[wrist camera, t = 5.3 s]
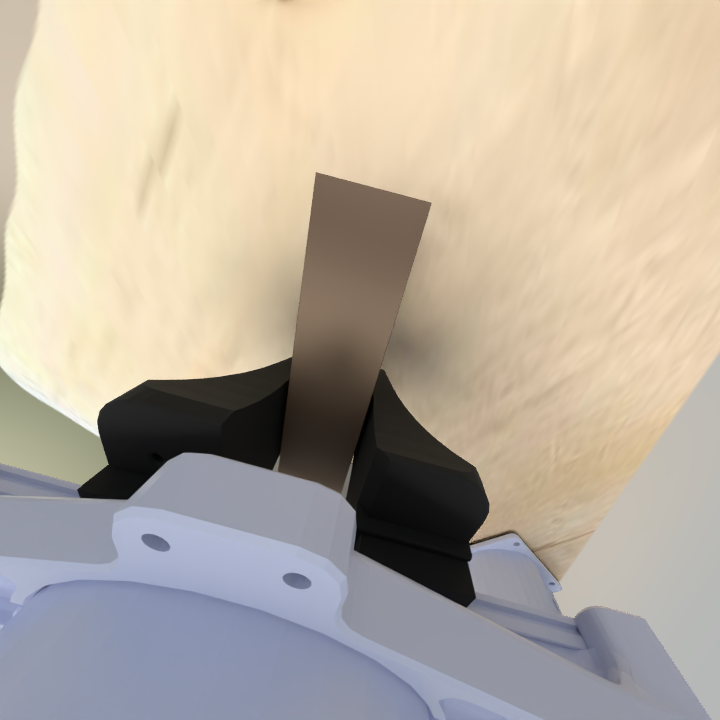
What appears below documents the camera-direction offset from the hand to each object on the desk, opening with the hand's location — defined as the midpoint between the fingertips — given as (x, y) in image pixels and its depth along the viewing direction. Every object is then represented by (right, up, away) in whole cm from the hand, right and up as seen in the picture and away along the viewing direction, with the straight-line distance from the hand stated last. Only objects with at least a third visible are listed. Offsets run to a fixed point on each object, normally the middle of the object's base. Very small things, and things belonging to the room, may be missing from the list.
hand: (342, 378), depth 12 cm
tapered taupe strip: (0, +1, +2) cm, 2 cm away
